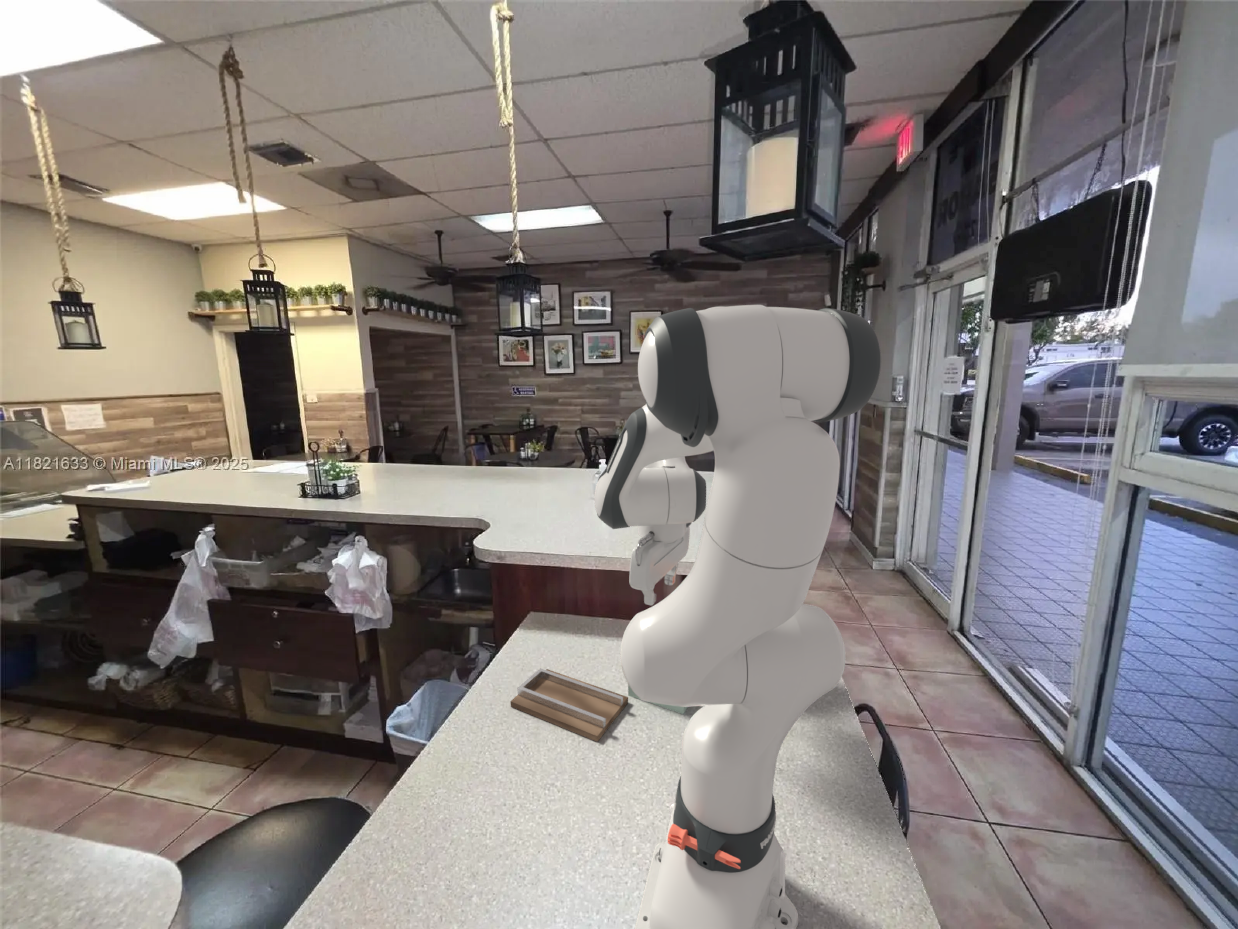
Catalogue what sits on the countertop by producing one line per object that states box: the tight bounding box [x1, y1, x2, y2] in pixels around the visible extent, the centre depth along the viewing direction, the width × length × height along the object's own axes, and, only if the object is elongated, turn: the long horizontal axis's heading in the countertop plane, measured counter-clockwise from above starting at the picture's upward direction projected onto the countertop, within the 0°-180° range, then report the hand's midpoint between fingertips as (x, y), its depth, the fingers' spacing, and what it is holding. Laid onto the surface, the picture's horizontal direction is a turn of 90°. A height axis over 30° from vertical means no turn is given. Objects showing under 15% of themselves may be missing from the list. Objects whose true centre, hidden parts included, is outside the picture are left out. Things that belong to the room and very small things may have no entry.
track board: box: [510, 668, 629, 742], centre depth 98 cm, size 12×20×1 cm, turn 62°
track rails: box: [517, 668, 623, 728], centre depth 98 cm, size 8×20×2 cm, turn 62°
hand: (660, 593), depth 96 cm, fingers open, 8 cm apart
